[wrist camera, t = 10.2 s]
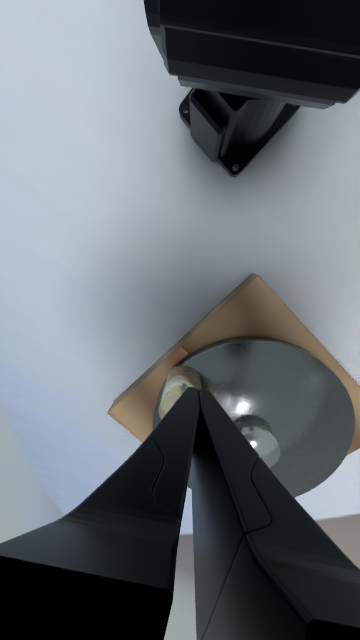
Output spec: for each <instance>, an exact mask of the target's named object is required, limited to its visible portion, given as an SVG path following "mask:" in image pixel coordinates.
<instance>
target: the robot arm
mask: <svg viewBox="0 0 360 640" xmlns="http://www.w3.org/2000/svg"><path fill="white" fill-rule="evenodd" d="M144 5H145V13H146V18H147V23H148V27H149V30H150V33H151V35H152V37H153V39H154V41H155V43H156V46H157V48H158V50H159V52H160V54H161V56H162V58H163V60H164V65H165V67H166V69H167V71H168V72H169V74H170V75H173V76H178V80H179V82H180V84H181V86H186V87H192V90H191V91H190V92H189V94H188V95H187V96H186V97H185V99H184V100H183V101H182V103H181V104H180V107H179V113H180V117H181V119H182V120H183V121H184V122H185V123H186V124H187V126H188V127H189V128H190V129H191V136H192V138H193V139H194V140H195V141H196V142H197V143H198V145H199V146H200V147H201V148H202V149H203V150H204V152H205V153H206V154H207V155H208V156H209V157H210V159H211V160H212V161H217V160H218V162H219V163H220V164H221V165H222V166H223V167H224V169H225V170H226V171H227V172H228V173H229V174H230V175H231V176H232V177H236V176H238V175H239V174H240V173H241V172H242V171H243V170H244V169H245V167H246V166H247V165H248V164H249V163H250V162H251V161H252V160H253V159H254V158H255V157H256V155H257V154H258V153H259V152H260V151H261V150H262V149H263V148H264V147H265V146H266V145H267V143H268V142H269V141H270V140H271V139H272V138H273V137H274V136H275V135H276V134H277V133H278V132H279V130H280V129H281V128H282V127H283V126H284V125H285V124H286V123H287V122H288V121H289V120H290V118H291V117H292V116H293V115H294V114H295V113H296V112H297V110H298V109H299V107H300V106H306V107H312V108H318V109H326V108H328V107H330V106H333V105H334V104H335V103H342V104H344V103H346V102H347V101H349V100H350V99H351V98H353V97H354V96H355V95H356V94H357V93H358V92H359V91H360V0H144ZM291 104H294V105H296V106H295V107H292V106H291ZM185 108H187V109H189V111H188V112H187V113H184V112H183V110H184V109H185ZM233 166H236V167H237V168H238V171H233V169H232V167H233ZM190 466H191V483H192V513H193V542H194V571H195V572H194V573H195V603H196V633H197V640H360V569H359V568H358V567H357V566H356V565H355V564H354V563H353V562H352V561H351V560H350V559H349V558H348V557H347V556H346V555H345V554H344V553H343V552H342V551H341V549H340V548H339V547H338V546H337V545H336V544H335V543H334V542H333V541H332V539H331V538H330V537H329V536H328V535H327V534H326V533H325V532H324V531H323V530H322V528H321V527H320V526H319V525H318V524H317V523H316V522H315V521H314V520H313V518H312V517H311V516H310V515H309V514H308V513H307V512H306V511H305V510H304V508H303V507H302V506H301V505H300V504H299V503H298V502H297V501H296V499H295V498H294V497H293V496H292V495H291V494H290V493H289V491H288V490H287V489H286V488H285V487H284V486H283V485H282V483H281V482H280V481H279V480H278V478H277V477H276V476H275V475H274V473H273V472H272V471H271V470H270V468H269V467H268V466H267V465H266V463H265V462H264V461H263V459H262V458H261V457H259V454H258V453H257V452H256V451H255V449H254V448H253V447H252V445H251V444H250V443H249V441H248V440H247V439H246V438H245V436H244V435H243V434H242V432H241V431H240V430H239V429H238V427H237V426H236V425H235V423H234V422H233V421H232V419H231V418H230V417H229V416H228V414H227V413H226V412H225V410H224V409H223V408H222V407H221V405H220V404H219V403H218V401H217V400H216V399H215V397H214V396H213V395H212V394H211V392H210V391H209V390H205V389H199V390H198V388H195V387H190V386H189V387H187V388H186V390H185V391H184V392H183V393H182V395H181V396H180V397H179V398H178V400H177V401H176V402H175V403H174V405H173V406H172V407H171V408H170V410H169V411H168V412H167V413H166V414H165V416H164V417H163V418H162V419H161V421H160V422H159V423H158V424H157V426H156V427H155V428H154V429H153V431H152V432H151V433H150V435H148V437H147V438H146V439H145V440H144V442H143V443H142V444H141V445H140V446H139V447H138V449H137V450H136V451H135V452H134V453H133V454H132V455H131V456H130V457H129V458H128V459H127V460H126V461H125V462H124V463H123V464H122V465H121V466H120V467H119V468H118V469H117V470H116V471H115V472H114V473H113V474H112V475H111V476H110V477H108V478H107V479H106V480H105V481H104V482H103V483H102V484H101V485H100V486H99V487H98V488H97V489H96V490H95V491H94V492H93V493H91V494H90V495H89V496H88V497H87V498H86V499H85V500H84V501H83V502H82V503H81V504H80V505H78V506H77V507H76V508H75V509H73V510H72V511H71V512H69V513H68V514H66V515H65V516H64V517H62V518H61V519H58V520H57V521H54V522H52V523H50V524H47V525H45V526H42V527H40V528H37V529H35V530H32V531H30V532H27V533H25V534H22V535H20V536H17V537H15V538H13V539H10V540H8V541H5V542H3V543H0V640H164V636H165V631H166V627H167V623H168V619H169V615H170V610H171V606H172V601H173V591H174V580H175V568H176V555H177V547H178V540H179V533H180V527H181V521H182V515H183V509H184V503H185V497H186V491H187V485H188V479H189V472H190Z"/></svg>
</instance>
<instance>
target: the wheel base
mask: <svg viewBox="0 0 360 640" xmlns="http://www.w3.org/2000/svg"><path fill="white" fill-rule="evenodd" d="M242 336H263V337H270V338H276V339H279V340H283V341H287V342H289V343H292V344H294V345H297V346H299V347H301V348H303V349H304V350H306V351H308V352H310V353H311V354H312V355H314V356H315V357H316V358H318V359H319V360H320V361H321V362H323V363H324V364H325V365H326V366H327V367H329V368H330V369H331V370H332V371H333V372H334V373H335V374H336V375H337V376H338V378H339V379H340V380H341V382H342V383H343V384H344V386H345V387H346V389H347V391H348V393H349V396H350V398H351V400H352V404H353V408H354V413H355V430H354V436H353V440H352V444H351V446H350V448H349V451H348V453H347V455H348V454H350V453H352V452H354V451H355V450H357V449H359V448H360V386H359V385H358V384H357V383H356V381H355V380H354V379H353V378H352V377H351V376H350V375H349V374H348V373H347V372H346V371H345V369H344V368H343V367H342V366H341V365H340V364H339V363H338V362H337V361H336V360H335V358H334V357H333V356H332V355H331V354H330V353H329V352H328V351H327V350H326V349H325V348H324V346H323V345H322V344H321V343H320V342H319V341H318V340H317V339H316V338H315V337H314V335H313V334H312V333H311V332H310V331H309V330H308V329H307V328H306V327H305V326H304V325H303V323H302V322H301V321H300V320H299V319H298V318H297V317H296V316H295V315H294V314H293V312H292V311H291V310H290V309H289V308H288V307H287V306H286V305H285V304H284V303H283V301H282V300H281V299H280V298H279V297H278V296H277V295H276V294H275V293H274V292H273V291H272V289H271V288H270V287H269V286H268V285H267V284H266V283H265V282H264V281H263V280H262V278H261V277H260V276H259V275H256V274H251V275H250V276H249V277H248V278H247V279H246V280H245V281H244V282H243V283H242V284H241V285H239V286H238V287H237V288H236V289H235V290H234V291H233V292H232V293H231V294H230V295H229V296H228V297H226V298H225V299H224V300H223V301H222V302H221V303H220V304H219V305H218V306H217V307H216V308H215V309H213V310H212V311H211V312H210V313H209V314H208V315H207V316H206V317H205V318H204V319H203V320H202V321H200V322H199V323H198V324H197V325H196V326H195V327H194V328H193V329H192V330H191V331H190V332H189V333H187V334H186V335H185V336H184V337H183V338H182V339H181V340H180V341H179V342H178V343H177V344H176V345H174V346H173V347H172V348H171V349H170V350H169V351H168V352H167V353H166V354H165V355H164V356H163V357H161V358H160V359H159V360H158V361H157V362H156V363H155V364H154V365H153V366H152V367H151V368H150V369H148V370H147V371H146V372H145V373H144V374H143V375H142V376H141V377H140V378H139V379H138V380H137V381H135V382H134V383H133V384H132V385H131V386H130V387H129V388H128V389H127V390H126V391H125V392H124V393H122V394H121V395H120V396H119V397H118V398H117V399H116V400H115V401H114V402H113V404H112V406H111V408H110V409H109V411H108V413H107V414H109V415H110V416H111V417H112V418H113V419H115V420H116V421H117V422H118V423H119V424H121V425H122V426H123V427H124V428H125V429H127V430H128V431H129V432H130V433H132V434H133V435H134V436H135V437H136V438H138V439H139V440H140V441H141V442H142V443H143V442H144V440H145V439H146V438H147V437H148V435H150V433H151V432H152V431H153V427H152V423H153V413H154V410H155V406H156V402H157V399H158V395H159V392H160V390H161V388H162V385H163V383H164V382H165V380H166V378H167V375H168V373H169V372H170V371H171V370H172V369H173V368H175V367H176V366H177V365H178V364H179V363H180V362H181V361H182V360H183V359H184V358H186V357H187V356H189V355H190V354H192V353H193V352H195V351H196V350H198V349H200V348H202V347H204V346H206V345H208V344H211V343H214V342H217V341H219V340H224V339H228V338H233V337H242ZM347 455H346V456H347Z"/></svg>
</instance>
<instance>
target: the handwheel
mask: <svg viewBox="0 0 360 640" xmlns="http://www.w3.org/2000/svg"><path fill="white" fill-rule="evenodd" d="M189 386H190V387H195V388H198V390H199V389H205V390H209V391H210V392H211V394H212V395H213V396H214V397H215V399H216V400H217V401H218V403H219V404H220V405H221V407H222V408H223V409H224V410H225V412H226V413H227V414H228V416H229V417H230V418H231V419H232V421H233V422H234V423H235V425H236V426H237V427H238V429H239V430H240V431H241V432H242V434H243V435H244V436H245V438H246V439H247V440H248V441H249V443H250V444H251V445H252V447H253V448H254V449H255V451H256V452H257V453H258V454H259V457H261V458H262V459H263V461H264V462H265V463H266V465H267V466H268V467H269V468H270V470H271V471H272V472H273V473H274V475H275V476H276V477H277V478H278V480H279V481H280V482H281V483H282V485H283V486H284V487H285V488H286V489H287V490H288V491H289V493H290V494H291V495H292V496H293V497H294V498H295V497H297V496H299V495H302V494H304V493H306V492H308V491H310V490H311V489H313V488H315V487H316V486H318V485H319V484H321V483H322V482H323V481H325V480H326V479H327V478H328V477H329V476H330V475H331V474H333V473H334V471H335V470H336V469H337V468H338V467H339V466H340V464H341V463H342V461H343V460H344V458H345V457H346V455H347V453H348V451H349V448H350V446H351V444H352V440H353V436H354V430H355V413H354V408H353V404H352V400H351V398H350V396H349V393H348V391H347V389H346V387H345V386H344V384H343V383H342V382H341V380H340V379H339V378H338V376H337V375H336V374H335V373H334V372H333V371H332V370H331V369H330V368H329V367H327V366H326V365H325V364H324V363H323V362H321V361H320V360H319V359H318V358H316V357H315V356H314V355H312V354H311V353H310V352H308V351H306V350H304V349H303V348H301V347H299V346H297V345H294V344H292V343H289V342H287V341H283V340H279V339H276V338H270V337H263V336H242V337H233V338H228V339H224V340H219V341H217V342H214V343H211V344H208V345H206V346H204V347H202V348H200V349H198V350H196V351H195V352H193V353H192V354H190V355H189V356H187V357H186V358H184V359H183V360H182V361H181V362H180V363H179V364H178V365H177V366H176V367H175V368H173V369H172V370H171V371H170V372H169V373H168V375H167V378H166V380H165V382H164V383H163V385H162V388H161V390H160V392H159V395H158V399H157V402H156V406H155V410H154V413H153V423H152V427H153V429H154V428H155V427H156V426H157V424H158V423H159V422H160V421H161V419H162V418H163V417H164V416H165V414H166V413H167V412H168V411H169V410H170V408H171V407H172V406H173V405H174V403H175V402H176V401H177V400H178V398H179V397H180V396H181V395H182V393H183V392H184V391H185V390H186V388H187V387H189ZM187 486H188V487H189V488H191V489H192V483H191V466H190V472H189V479H188V485H187Z"/></svg>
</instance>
